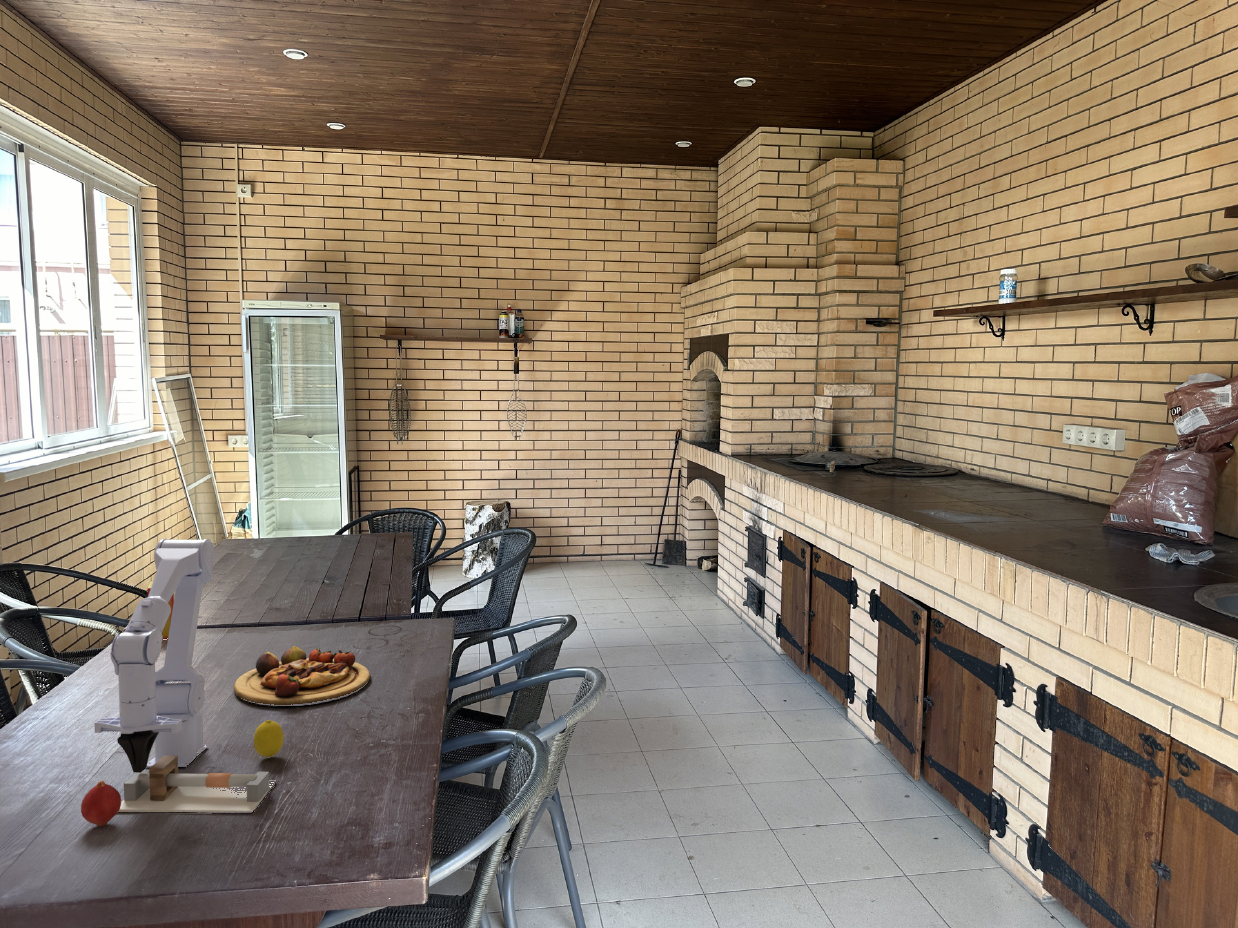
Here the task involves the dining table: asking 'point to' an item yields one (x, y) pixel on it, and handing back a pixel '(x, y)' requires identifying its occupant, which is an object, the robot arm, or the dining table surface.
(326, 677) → the wooden plate with food
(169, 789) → the collar
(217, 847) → the dining table surface
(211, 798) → the rail
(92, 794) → the red pomegranate
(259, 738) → the lemon
